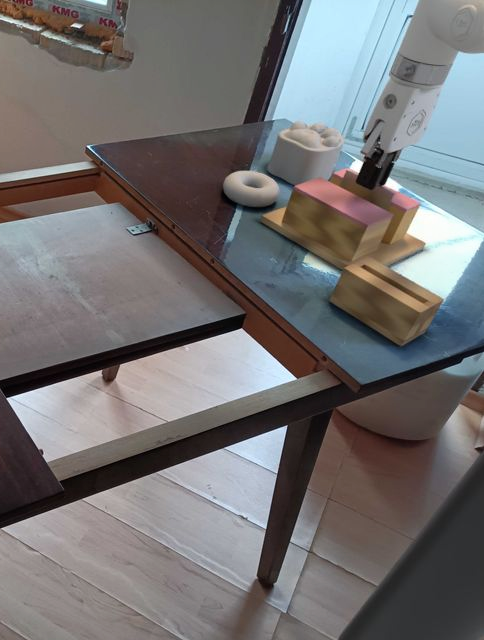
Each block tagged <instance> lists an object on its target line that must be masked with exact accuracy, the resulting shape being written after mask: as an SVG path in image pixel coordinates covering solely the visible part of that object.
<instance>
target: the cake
mask: <svg viewBox="0 0 484 640" xmlns="http://www.w3.org/2000/svg"><path fill="white" fill-rule="evenodd" d="M393 215H394V214H392V213H390V212H388V211H386V210H384V209H382V208H380V207H378V206H376V205H374V204H372V203H370V202H368V201H367V200H365V199H363V198H361V197H359V196H357V195H355V194H353V193H351V192H349V191H347V190H345V189H343V188H341V187H339V186H337V185H335V184H333V183H331V182H330V180H328V181H327V180H325V179H323V178H321V177H319V178H316V179H313V180H310V181H307V182H304V183H302V184H299V185H294V186H293V188H292V191H291V193H290V196H289V199H288V202H287V205H286V206H284V207H280V208H278V209H275V210H273V211H270V212H267V213H265V214H262V215H261V217H260V221H259V222H260V223H262V224H263V225H265V226H267V227H268V228H270V229H272V230H273V231H275V232H277V233H279V234H280V235H282V236H284V237H286V238H287V239H288V240H291V241H293V242H295V243H296V244H297V245H298V246H300V247H303V248H304V249H305V250H307V251H310V252H311V253H313V254H315V255H316V256H318V257H319V258H321V259H323V260H325V261H326V262H328V263H330V264H331V265H333V266H334V267H336V268H338V269H340V270H341V271H343V269H344V268H345V267H347V266H349V265H351V264H353V263H356V262H358V261H360V260H362V259H364V258H366V257H370V258H372V259H374V260H376V261H377V262H379V263H381V264H383V265H385V266H386V267H389V266H391V265H394V264H395V263H397V262H399V261H402V260H403V259H405V258H408V257H410V256H412V255H414V254H416V253H418V252H420V251H422V250H424V248H425V246H426V244H427V242H425V241H423V240H421V239H419V238H417V237H415V236H413V235H411V234H409V233H408V232H407V233H406V235H405V237H404V238H402V239H400V240H398V241H396V242H394V243H392V244H388V243H386V242H384V241H382V238H383V236H384V234H385V232H386V230H387V227H388V225H389V223H390V221H391V219H392V217H393Z"/></svg>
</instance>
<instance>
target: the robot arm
mask: <svg viewBox="0 0 484 640" xmlns="http://www.w3.org/2000/svg"><path fill="white" fill-rule="evenodd" d="M459 53H462V54H468V55H470V54H471V55H475V54H484V0H418V2H417V4H416V7H415V9H414V10H413V14H412V16H411V19H410V21H409V24H408V26H407V28H406V31H405V33H404V35H403V38H402V40H401V43H400V46H399V48H398V51H397V53H396V55H395V58H394V60H393V62H392V65H391V67H390V70H389V73H388V77H389V79H388V81H387V83H386V84H385V86H384V87H383V90H382V92H381V94H380V96H379V98H378V99H377V102H376V103H375V106H374V108H373V110H372V112H371V115H370V117H369V119H368V121H367V123H366V126H365V129H364V131H363V135H362V142H363V143H364V144H363V146H362V148H361V150H360V152H359V153H360V154H361V155H363V159H362V161H363V162H362V165H361V167H360V170H359V172H358V173H359V174H358V177H357V179H356V183H357V184H359V185H361V186H363V187H365V188H367V189H369V190H373V189H375V186H376V184H377V182H378V180H379V177H380V175H381V173H382V171H383V168H384V167H382V165H383V163H384V160H385V158H386V156H387V154H388V153H393V154H394V156H393V158H392V160H391V162H390V164H389V166H388V169H387V171H386V173H385V175H384V177H383V179H382V181H381V183H378V184H379V185H381V186H383V185H385V186H386V184H387V182H388V179H389V178H390V175H391V173H392V170H393V168H394V166H395V164H396V162H397V161H398V160H399V159H400V155H401V153H402V151H403V149H405V148H408V147H411V146H413V145H416V144H418V143H419V142H420V141H422V139H423V137H424V135H425V133H426V130H427V128H428V125H429V123H430V121H431V119H432V116H433V114H434V111H435V109H436V107H437V103H438V100H439V98H440V95H441V92H442V88H443V87H444V84H445V82H446V80H447V78H448V76H449V73H450V71H451V70H452V67H453V65H454V63H455V60H456V58H457V56H458V54H459ZM375 150H379V151H381V154H380V156H379V153H378V152H376V151H375Z"/></svg>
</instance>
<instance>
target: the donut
mask: <svg viewBox="0 0 484 640" xmlns="http://www.w3.org/2000/svg"><path fill="white" fill-rule="evenodd" d="M222 188H223V192H224V194H225V195H226V196H227V198H228V199H230V200H231V201H233V202H234V203H236V204H239V205H241V206H245V207H249V208H266V207H268V206H271V205H272V204H274V203H275V202H276V201H277V200H278V198H279V195H280V191H281V190H280V187H279V185H278V183H277V182H276V181H275V180H274V179H273V178H272V177H270V176H268V175H267V174H264V173H261V172H259V171H258V172H257V171H255V170H238V171H234V172H232V173H230V174H229V175H227V176H226V177H225V179H224V181H223V184H222Z"/></svg>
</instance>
